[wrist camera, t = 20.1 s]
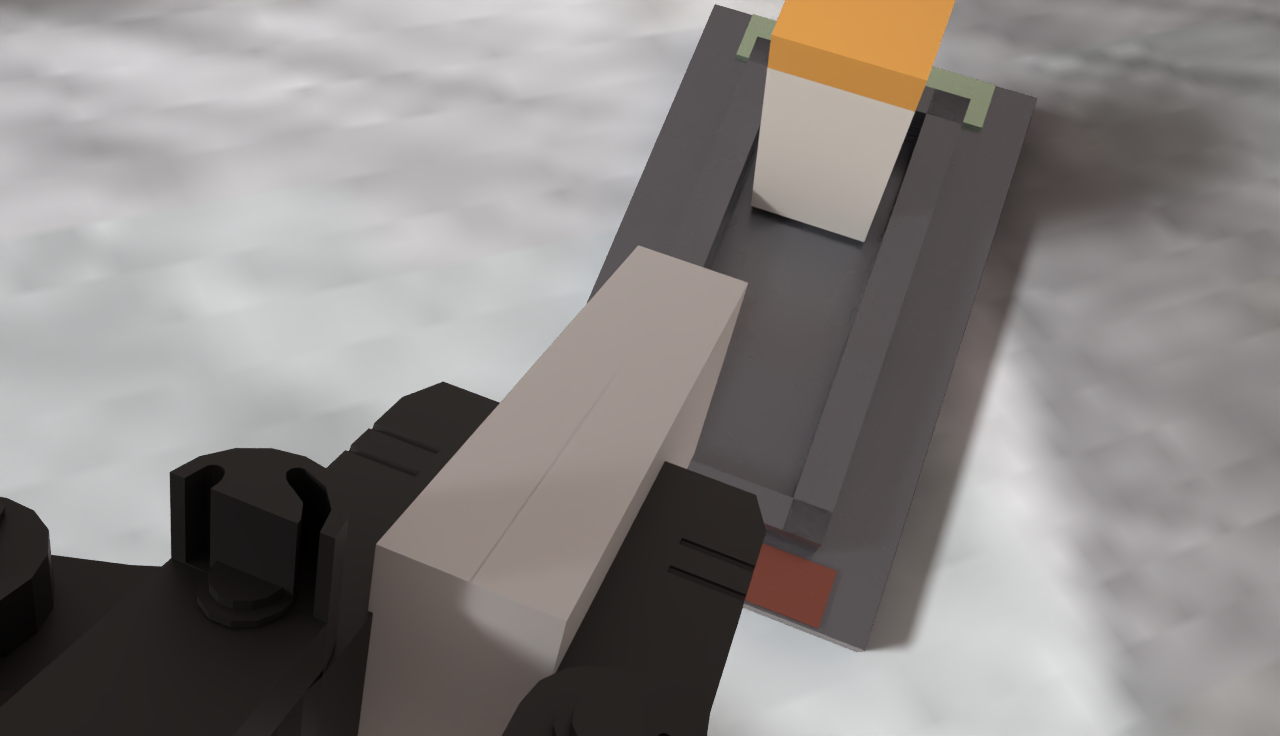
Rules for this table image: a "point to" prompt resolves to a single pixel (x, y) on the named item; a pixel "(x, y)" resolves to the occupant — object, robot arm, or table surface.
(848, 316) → the dark gray tray
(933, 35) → the toggle
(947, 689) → the table surface
